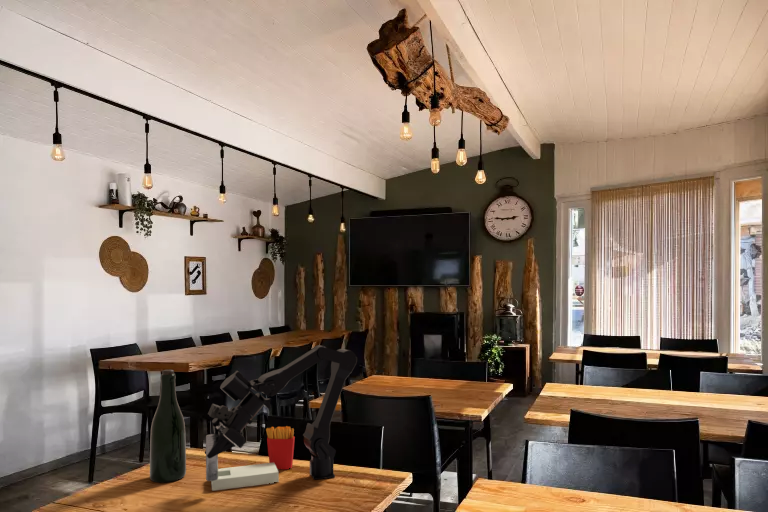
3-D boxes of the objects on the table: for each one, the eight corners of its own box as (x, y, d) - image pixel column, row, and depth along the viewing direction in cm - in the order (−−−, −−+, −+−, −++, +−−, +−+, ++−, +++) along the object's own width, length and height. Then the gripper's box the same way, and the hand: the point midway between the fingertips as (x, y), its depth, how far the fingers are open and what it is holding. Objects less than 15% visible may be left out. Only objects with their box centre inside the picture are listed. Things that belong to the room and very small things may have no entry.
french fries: (295, 465, 186) (295, 424, 186) (292, 469, 182) (292, 428, 182) (268, 465, 187) (267, 424, 187) (264, 469, 182) (264, 428, 183)
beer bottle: (190, 471, 182) (190, 366, 183) (179, 483, 171) (179, 372, 173) (157, 472, 181) (157, 367, 183) (144, 484, 171) (144, 372, 172)
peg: (217, 476, 162) (217, 433, 163) (218, 480, 159) (217, 436, 160) (206, 477, 161) (205, 434, 162) (206, 481, 158) (205, 437, 159)
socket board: (274, 472, 179) (274, 462, 180) (278, 482, 170) (278, 472, 170) (211, 479, 173) (211, 469, 174) (212, 490, 164) (212, 480, 164)
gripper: (218, 388, 172) (180, 430, 166) (233, 398, 155) (190, 446, 149) (245, 411, 175) (208, 454, 169) (261, 424, 158) (221, 471, 153)
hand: (206, 455), depth 160 cm, fingers closed on peg, 3 cm apart
